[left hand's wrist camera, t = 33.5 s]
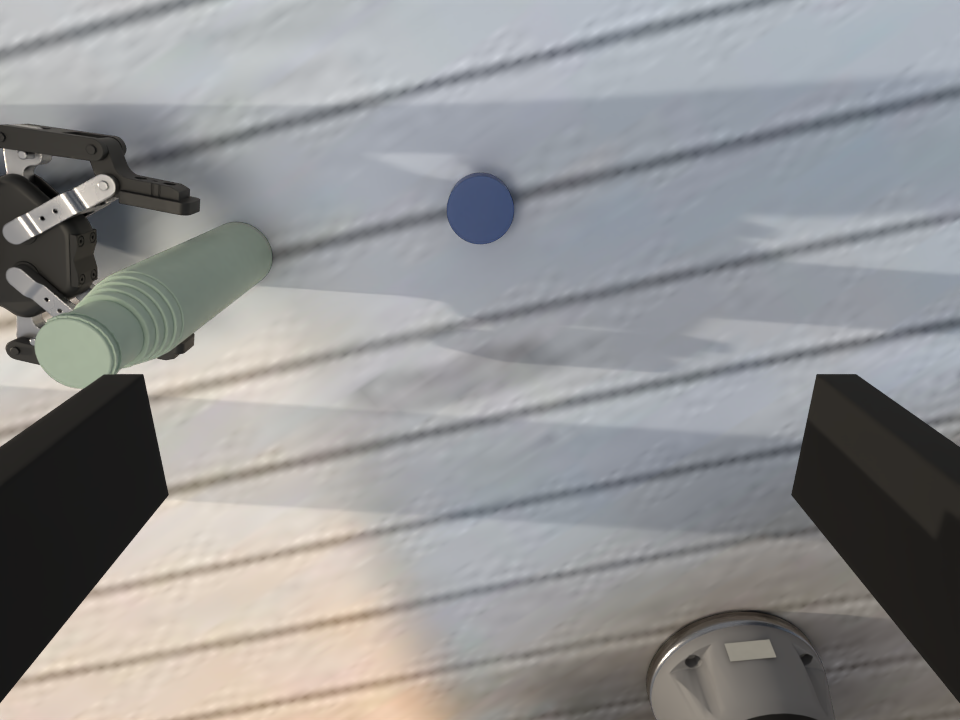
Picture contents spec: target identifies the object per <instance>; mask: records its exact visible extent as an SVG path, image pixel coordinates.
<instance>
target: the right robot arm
mask: <svg viewBox="0 0 960 720" xmlns="http://www.w3.org/2000/svg"><path fill="white" fill-rule="evenodd" d="M0 148H2V149H3V150H4V157H5V165H6V172H7V174H6V175H3V176H0V306H1V307H4V308H5V309H7V310H9V311H10V312H12V313H13V314H15V315H17V338H16V339H15V340H13V341H11V342H9V343H7V345H6V352H7V354H8V355H9V356H10V357H11V358H13V359H16V360H20V361H25V362H29V363H34V364H38V365H40V364H39V362H38V359H37V357H36V354H35V339H36V336H37V334H38V332H39V330H40V329H41V328H42V327H43V326H44V325H45V323H46V322H45V321H44V319H43V317H42V313H43V312H46V311H47V312H48V313H49V314H50V315H51V316H53V317H54V316H57V315H59V314H62V313H66V312H70V311H72V310H74V308H75V307H76V305H75V304H73V303H72V302H71V301H69V300H70V299H72V298H74V297H76V298H77V299H78V300H79V301H82V299H83V298H84V297H85V296H86V295H87V294H88V293H89V292H90V291H91V290H92V289H93V288H94V287H95V285H94V284H92V283H93V281H94V280H97V265H96V262H95V258H94V250H95V246H96V242H97V237H96V229H92V227H91V225H90V223H89V221H88V220H87V217H88V216H90V215H92V214H94V213H96V212H97V211H99V210H101V209H103V208H105V207H106V206H108V205H110V204H111V202H113V201H115V200H117V199H119V203H121V204H126V205H131V206H136V207H142V208H147V209H152V210H157V211H162V212H167V213H172V214H177V215H191V214H194V213H197V212H199V211H200V199H199V198H195V197H191V196H190V189H189V188H187V187H186V186H184V185H182V184H179V183H174V182H169V181H163V180H159V179H154V178H149V177H144V176H140V175H137V174H135V173H133V172H132V171H131V170H130V169H129V167H128V165H127V163H126V160H125V157H124V155H125V153H126V145H125V143H124V141H123V140H122V139H121V138H119V137H117V136H111V135H104V134H97V133H90V132H82V131H75V130H68V129H61V128H54V127H47V126H40V125H33V124H6V125H0ZM52 156H60V157H67V158H74V159H81V160H88V161H90V162H91V165H92V168H93V171H94V173H95V177H93V178H92V179H90V180H88V181H86V182H85V183H83V184H81V185H79V186H78V187H76V188H74V189H72V190H69V191H66V192H64V193H62V194H59V193H58V192H57V191H56V190H54V189H53V188H52V187H51V186H50V185H49V184H48V183H46V182H45V181H44V180H43V179H42V178H41V177H39V176H37V175H35V174H34V169H35V167H36V166H37V165H41V164H47V163H49V162H50V161H51V159H52ZM192 346H194V333H193V334H191V335H190V336H189V337H187V338H186V339H185V340H184V341H182V342H181V343H180V344H178V345H177V346H176V347H175V348H173V349H172V350H171V351H169V352H167V353H166V354H163V355H161V356H160V357H158V358H157V359H162V360H170V359H175V358H176V357H177V356H178V355H179V354H183V353H185V352H186V351H188V350H189V349H190V348H191V347H192Z"/></svg>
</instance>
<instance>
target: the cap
mask: <svg viewBox="0 0 960 720" xmlns="http://www.w3.org/2000/svg"><path fill="white" fill-rule="evenodd" d="M513 215H514V204H513V200H512V197H511V194H510V192H509V190H508V188H507V187H506V185H505V184H504V183H503V182H502V181H501V180H500V179H499V178H497V177H495V176H493V175H491V174H487V173H474V174H470V175H468V176H466V177H464V178H462V179H461V180H460V181H459V182H458V183H457V184H456V185H455V186H454V188H453V190H452V191H451V194H450V197H449V199H448V203H447V217H448V220H449V223H450V226H451V227H452V229H453V230H454V232H455V233H456V234H457V235H458V236H459V237H461V238H462V239H464V240H465V241H468V242H470V243H474V244H487V243H491V242H493V241H495V240H497V239H499V238H500V237H502V236H503V235H504V234H505V233H506V231H507V230H508V229H509V227H510V225H511V223H512V220H513Z"/></svg>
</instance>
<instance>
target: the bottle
mask: <svg viewBox="0 0 960 720" xmlns="http://www.w3.org/2000/svg"><path fill="white" fill-rule="evenodd" d="M271 265H272V251H271V247H270V245H269V243H268V241H267V239H266V238H265V237H264V235H263V234H262V233H261V232H260V231H259V230H257V229H256V228H254V227H253V226H251V225H248V224H245V223H241V222H231V223H227V224H224V225H222V226H219V227H217V228H215V229H213V230H210V231H208V232H206V233H204V234H201V235H199V236H197V237H195V238H192V239H190V240H188V241H186V242H183V243H181V244H179V245H177V246H174V247H172V248H170V249H168V250H165V251H163V252H161V253H159V254H157V255H154V256H152V257H150V258H148V259H145V260H143V261H141V262H139V263H136V264H134V265H132V266H130V267H127V268H125V269H123V270H121V271H118V272H116V273H114V274H112V275H110V276H108V277H106V278H105V279H104V280H102V281H101V282H99V283H98V284H97V285H96V286H95V287H94V288H93V289H92V290H91V291H90V292H89V293H88V294H87V295H86V296H85V297H84V298H83V299H82V301H80V302H79V303H78V304H77V305H76V307H75V308H74V310H72V311H70V312H66V313H62V314H59V315H57V316H54V317H52V318H50V319H48V320H47V322H46V323H45V325H44V326H43V327H42V328H41V329H40V330H39V332H38V334H37V336H36V339H35V354H36V357H37V359H38V362H39V364H40V365H41V367H42V368H43V370H44V371H45V372H46V373H47V374H48V375H49V376H50V377H51V378H53V379H54V380H56V381H57V382H59V383H61V384H63V385H65V386H68V387H72V388H79V389H84V388H85V387H87V386H88V385H89V384H91V383H92V382H94V381H95V380H97V379H98V378H99V377H101V376H102V375H104V374H117V373H118V371H119V370H120V369H122V368H127V367H131V366H133V365H136V364H140V363H143V362H146V361H149V360H152V359H155V358H158V357H160V356H161V355H163V354H166V353H167V352H169V351H171V350H172V349H173V348H175V347H176V346H177V345H178V344H180V343H181V342H182V341H184V340H185V339H186V338H187V337H189V336H190V335H191V334H193V333H194V332H195V331H196V330H198V329H199V328H200V327H202V326H203V325H204V324H206V323H207V322H208V321H209V320H211V319H212V318H213V317H215V316H216V315H217V314H218V313H220V312H221V311H222V310H224V309H225V308H226V307H227V306H229V305H230V304H231V303H233V302H234V301H235V300H236V299H238V298H239V297H240V296H242V295H243V294H244V293H245V292H247V291H248V290H249V289H251V288H252V287H253V286H254V285H256V284H257V283H258V282H260V281H261V280H262V279H263V278H264V277H265V276H266V275H267V274H268V272H269V270H270V268H271Z"/></svg>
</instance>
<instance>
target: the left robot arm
mask: <svg viewBox="0 0 960 720" xmlns="http://www.w3.org/2000/svg"><path fill="white" fill-rule="evenodd" d="M168 495H169V494H168V490H167V485H166V480H165V475H164V471H163V466H162V461H161V456H160V452H159V447H158V442H157V437H156V433H155V428H154V423H153V418H152V413H151V409H150V404H149V399H148V394H147V390H146V385H145V380H144V375H143V374H104V375H102V376H101V377H99V378H98V379H97V380H95V381H94V382H92V383H91V384H89V385H88V386H87V387H85V388H84V389H82V390H81V391H79V392H78V393H77V394H75V395H74V396H72V397H71V398H70V399H68V400H67V401H65V402H64V403H62V404H61V405H60V406H58V407H57V408H55V409H54V410H52V411H51V412H50V413H48V414H47V415H45V416H44V417H42V418H41V419H40V420H38V421H37V422H35V423H34V424H32V425H31V426H30V427H28V428H27V429H25V430H24V431H22V432H21V433H20V434H18V435H17V436H15V437H14V438H13V439H11V440H10V441H8V442H7V443H5V444H4V445H3V446H1V447H0V703H1V701H2V700H3V699H4V698H5V696H6V695H7V694H8V693H9V692H10V690H11V689H12V688H13V687H14V685H15V684H16V683H17V682H18V680H19V679H20V678H21V677H22V675H23V674H24V673H25V672H26V671H27V669H28V668H29V667H30V666H31V664H32V663H33V662H34V661H35V659H36V658H37V657H38V656H39V654H40V653H41V652H42V651H43V650H44V648H45V647H46V646H47V645H48V643H49V642H50V641H51V640H52V638H53V637H54V636H55V635H56V633H57V632H58V631H59V630H60V629H61V627H62V626H63V625H64V624H65V622H66V621H67V620H68V619H69V617H70V616H71V615H72V614H73V612H74V611H75V610H76V609H77V608H78V606H79V605H80V604H81V603H82V601H83V600H84V599H85V598H86V596H87V595H88V594H89V593H90V591H91V590H92V589H93V588H94V587H95V585H96V584H97V583H98V582H99V580H100V579H101V578H102V577H103V575H104V574H105V573H106V572H107V570H108V569H109V568H110V567H111V566H112V564H113V563H114V562H115V561H116V559H117V558H118V557H119V556H120V554H121V553H122V552H123V551H124V549H125V548H126V547H127V546H128V545H129V543H130V542H131V541H132V540H133V538H134V537H135V536H136V535H137V533H138V532H139V531H140V530H141V528H142V527H143V526H144V525H145V524H146V522H147V521H148V520H149V519H150V517H151V516H152V515H153V514H154V512H155V511H156V510H157V509H158V507H159V506H160V505H161V504H162V503H163V501H164V500H165V499H166V498H167V496H168ZM791 495H792V496H793V498H794V499H795V500H796V501H797V503H798V504H799V505H800V506H801V507H802V509H803V510H804V511H805V512H806V514H807V515H808V516H809V517H810V519H811V520H812V521H813V522H814V524H815V525H816V526H817V527H818V528H819V530H820V531H821V532H822V533H823V535H824V536H825V537H826V538H827V540H828V541H829V542H830V543H831V545H832V546H833V547H834V548H835V549H836V551H837V552H838V553H839V554H840V556H841V557H842V558H843V559H844V561H845V562H846V563H847V564H848V566H849V567H850V568H851V569H852V570H853V572H854V573H855V574H856V575H857V577H858V578H859V579H860V580H861V582H862V583H863V584H864V585H865V587H866V588H867V589H868V590H869V591H870V593H871V594H872V595H873V596H874V598H875V599H876V600H877V601H878V603H879V604H880V605H881V606H882V608H883V609H884V610H885V611H886V612H887V614H888V615H889V616H890V617H891V619H892V620H893V621H894V622H895V624H896V625H897V626H898V627H899V629H900V630H901V631H902V632H903V633H904V635H905V636H906V637H907V638H908V640H909V641H910V642H911V643H912V645H913V646H914V647H915V648H916V650H917V651H918V652H919V653H920V654H921V656H922V657H923V658H924V659H925V661H926V662H927V663H928V664H929V666H930V667H931V668H932V669H933V671H934V672H935V673H936V674H937V675H938V677H939V678H940V679H941V680H942V682H943V683H944V684H945V685H946V687H947V688H948V689H949V690H950V692H951V693H952V694H953V695H954V696H955V698H956V699H957V700H958V701H959V703H960V447H959V446H957V445H956V444H955V443H953V442H952V441H950V440H949V439H947V438H946V437H945V436H943V435H942V434H940V433H939V432H937V431H936V430H935V429H933V428H932V427H930V426H929V425H928V424H926V423H925V422H923V421H922V420H920V419H919V418H918V417H916V416H915V415H913V414H912V413H910V412H909V411H908V410H906V409H905V408H903V407H902V406H900V405H899V404H898V403H896V402H895V401H893V400H892V399H890V398H889V397H888V396H886V395H885V394H883V393H882V392H881V391H879V390H878V389H876V388H875V387H873V386H872V385H871V384H869V383H868V382H866V381H865V380H863V379H862V378H861V377H859V376H858V375H856V374H817V375H816V380H815V385H814V390H813V394H812V399H811V404H810V409H809V413H808V418H807V423H806V428H805V433H804V437H803V442H802V447H801V452H800V456H799V461H798V466H797V471H796V475H795V480H794V485H793V490H792V494H791ZM646 686H647V693H648V697H649V701H650V704H651V708H652V711H653V714H654V716H655V718H656V720H835V717H834V712H833V707H832V702H831V697H830V692H829V688H828V683H827V678H826V674H825V671H824V668H823V665H822V662H821V660H820V658H819V656H818V654H817V653H816V651H815V650H814V648H813V646H812V645H811V643H810V641H809V640H808V639H807V637H806V636H805V635H804V634H803V633H802V632H801V631H800V630H799V629H798V628H796V627H795V626H794V625H792V624H791V623H789V622H787V621H785V620H783V619H781V618H778V617H775V616H772V615H768V614H764V613H758V612H730V613H723V614H718V615H714V616H710V617H707V618H704V619H701V620H699V621H696V622H694V623H692V624H690V625H688V626H686V627H685V628H683V629H681V630H680V631H678V632H677V633H676V634H674V635H673V636H672V637H671V638H669V639H668V640H667V641H666V642H665V643H664V644H663V646H662V647H661V648H660V649H659V650H658V652H657V653H656V655H655V656H654V658H653V660H652V662H651V664H650V667H649V670H648V674H647V682H646Z"/></svg>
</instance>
